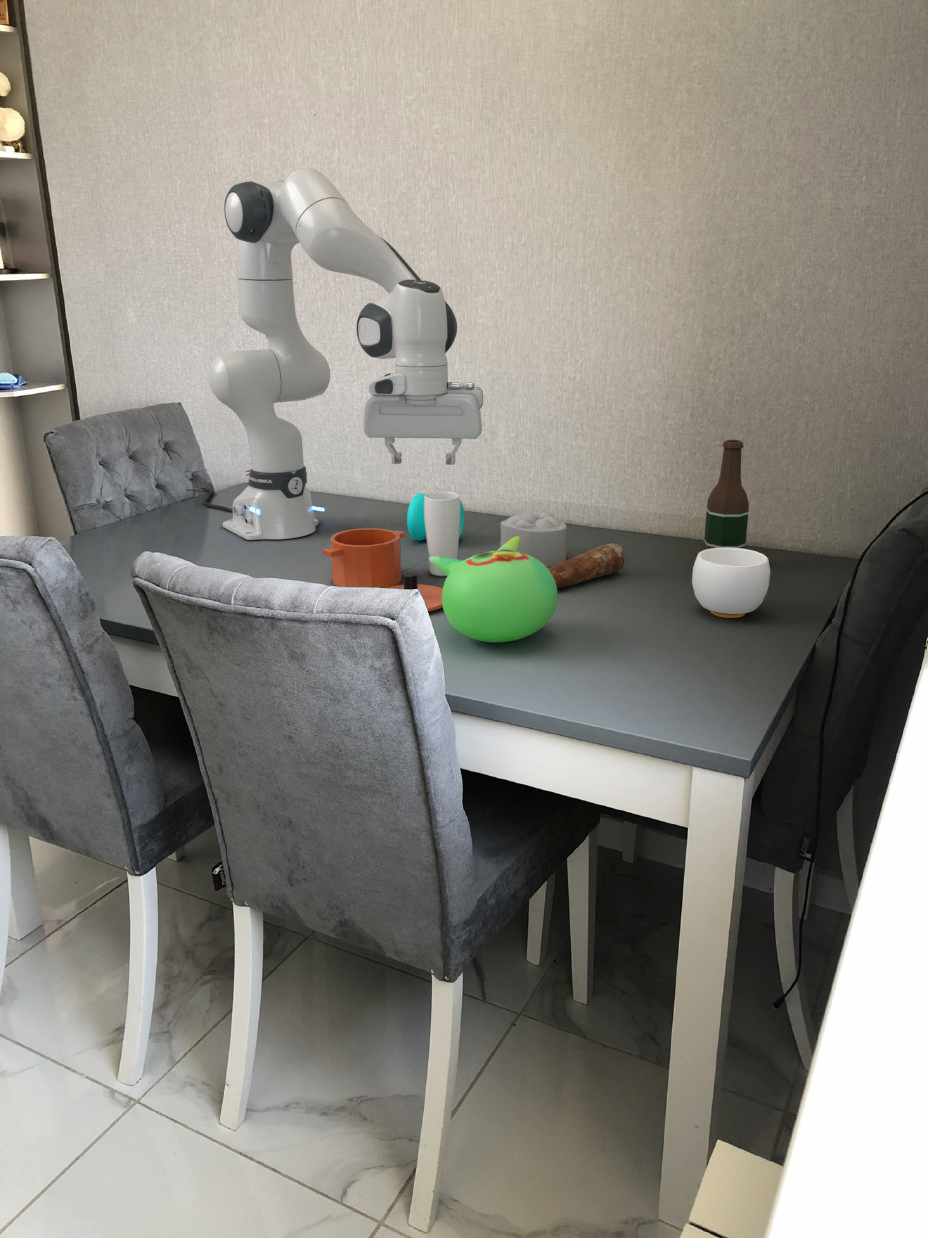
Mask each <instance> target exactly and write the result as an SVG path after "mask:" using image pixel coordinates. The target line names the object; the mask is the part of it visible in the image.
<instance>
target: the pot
mask: <svg viewBox="0 0 928 1238" xmlns="http://www.w3.org/2000/svg"><path fill="white" fill-rule="evenodd" d="M405 538H407V533H406V531H403V530H397V529H396V530H390V529H387V528H377V527H363V528H361V527H360V528H354V529H347V530H343V531H338V532H337V533H334V534H333V535H331V537H330V538H329V545H330V546H329V547H328V548H324V549H322V556H324V557H328V558H330V562H331V578H332V584H333V586H334V585H338V586H344V587H380V588H387V587H392V586H397V585H401V583H402V553H401V551H402V549H401V540H402V539H405Z"/></svg>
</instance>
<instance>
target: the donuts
mask: <svg viewBox="0 0 928 1238" xmlns="http://www.w3.org/2000/svg"><path fill="white" fill-rule="evenodd" d="M426 494H427V493H417V494H415V495H414V496H412V498H411V500H410V501H409V505H408V508H407V512H406V513H407V514H406V524H407V525H406V526H407V530H408V533H409V535H410V537H411V538H412V539H413V540H414V541H417V542H422V541H424V540H427V537H426V529H425V519H424V496H425V495H426ZM460 510H461V514H460V531H459V539H460V538H461V536H462V533H463V530H464V524H465V508H464V503H463V501H462V500H461V499H460Z"/></svg>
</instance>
